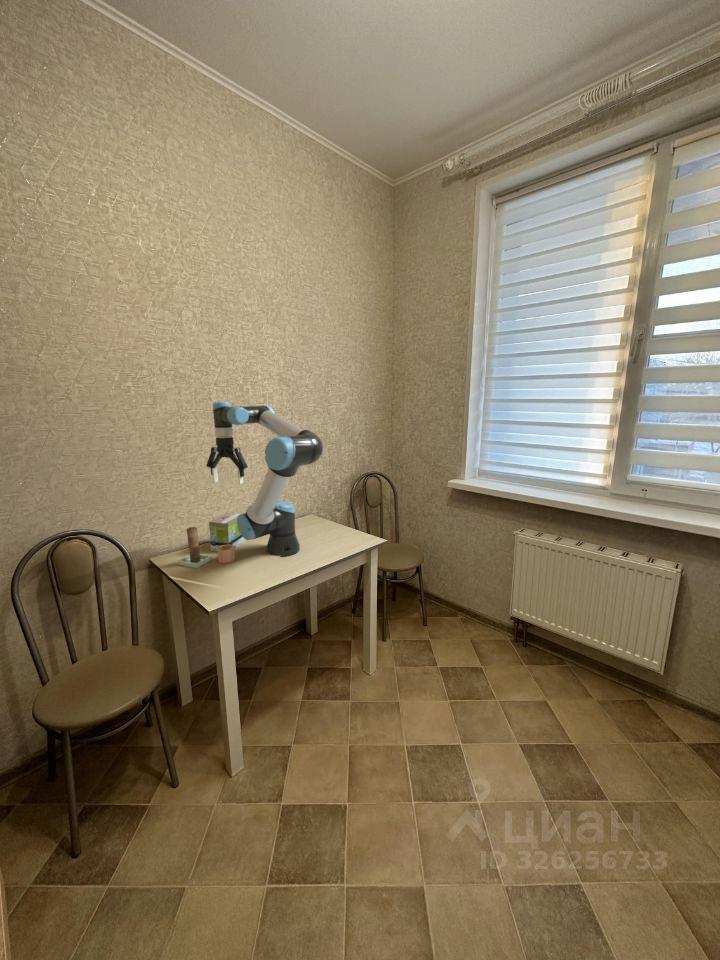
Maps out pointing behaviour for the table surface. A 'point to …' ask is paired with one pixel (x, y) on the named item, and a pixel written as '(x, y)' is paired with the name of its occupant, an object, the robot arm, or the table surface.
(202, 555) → the tray
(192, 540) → the dowel
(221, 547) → the cup
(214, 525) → the tea box
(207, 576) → the table surface
